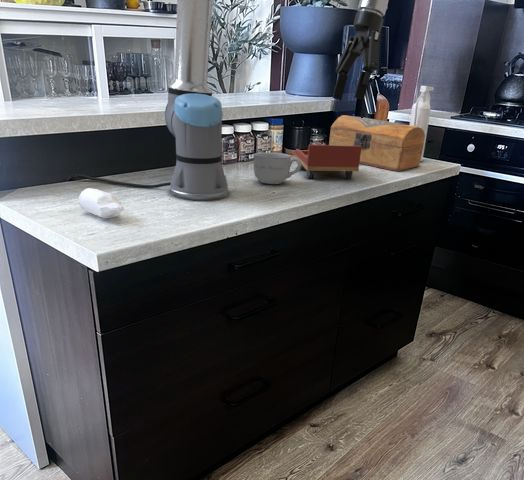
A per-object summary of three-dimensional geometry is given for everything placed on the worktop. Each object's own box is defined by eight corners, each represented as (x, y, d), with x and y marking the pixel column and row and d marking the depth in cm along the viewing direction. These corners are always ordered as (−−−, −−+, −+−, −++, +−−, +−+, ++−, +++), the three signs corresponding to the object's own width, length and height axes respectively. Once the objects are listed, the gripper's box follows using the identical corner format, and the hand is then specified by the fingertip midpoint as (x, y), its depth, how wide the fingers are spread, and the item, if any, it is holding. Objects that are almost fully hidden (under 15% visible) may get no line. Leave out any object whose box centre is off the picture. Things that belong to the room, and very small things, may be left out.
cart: (306, 180, 158) (309, 145, 153) (293, 167, 174) (296, 134, 169) (356, 181, 161) (361, 146, 155) (339, 168, 177) (343, 135, 171)
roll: (109, 226, 112) (107, 200, 109) (79, 213, 119) (76, 188, 116) (133, 221, 116) (131, 196, 113) (102, 209, 123) (100, 185, 120)
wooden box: (324, 157, 191) (329, 116, 184) (350, 152, 202) (355, 113, 195) (395, 172, 174) (403, 128, 167) (420, 166, 185) (428, 124, 178)
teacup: (246, 182, 152) (247, 154, 148) (263, 176, 160) (264, 148, 156) (289, 190, 147) (291, 160, 143) (304, 183, 155) (307, 155, 151)
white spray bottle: (395, 161, 192) (408, 85, 179) (410, 157, 200) (424, 84, 187) (412, 164, 188) (427, 87, 176) (426, 160, 196) (441, 86, 184)
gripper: (407, 12, 132) (381, 102, 139) (359, 25, 153) (339, 102, 160) (383, 1, 129) (357, 94, 136) (337, 16, 150) (317, 95, 157)
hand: (347, 99), depth 148 cm, fingers open, 13 cm apart
